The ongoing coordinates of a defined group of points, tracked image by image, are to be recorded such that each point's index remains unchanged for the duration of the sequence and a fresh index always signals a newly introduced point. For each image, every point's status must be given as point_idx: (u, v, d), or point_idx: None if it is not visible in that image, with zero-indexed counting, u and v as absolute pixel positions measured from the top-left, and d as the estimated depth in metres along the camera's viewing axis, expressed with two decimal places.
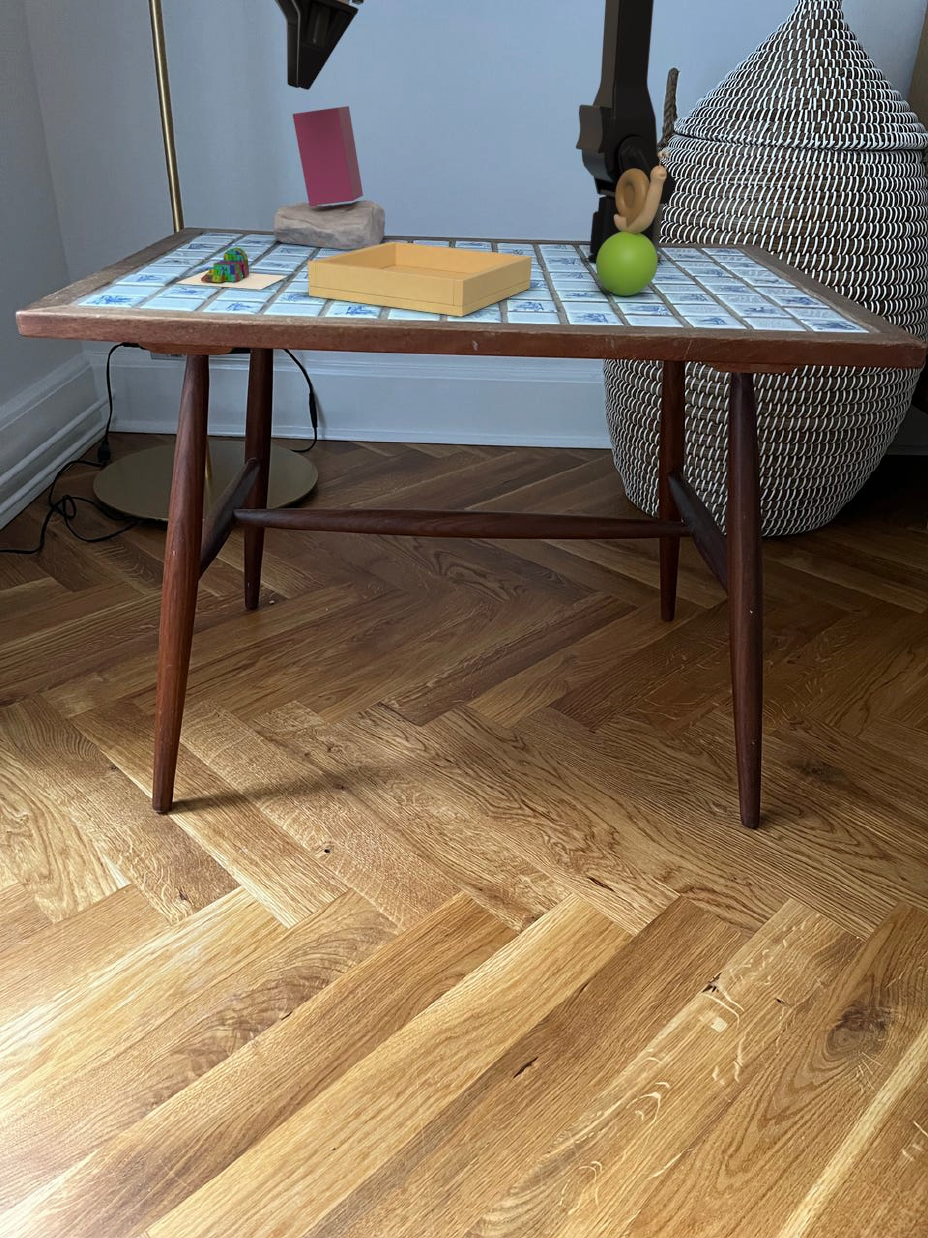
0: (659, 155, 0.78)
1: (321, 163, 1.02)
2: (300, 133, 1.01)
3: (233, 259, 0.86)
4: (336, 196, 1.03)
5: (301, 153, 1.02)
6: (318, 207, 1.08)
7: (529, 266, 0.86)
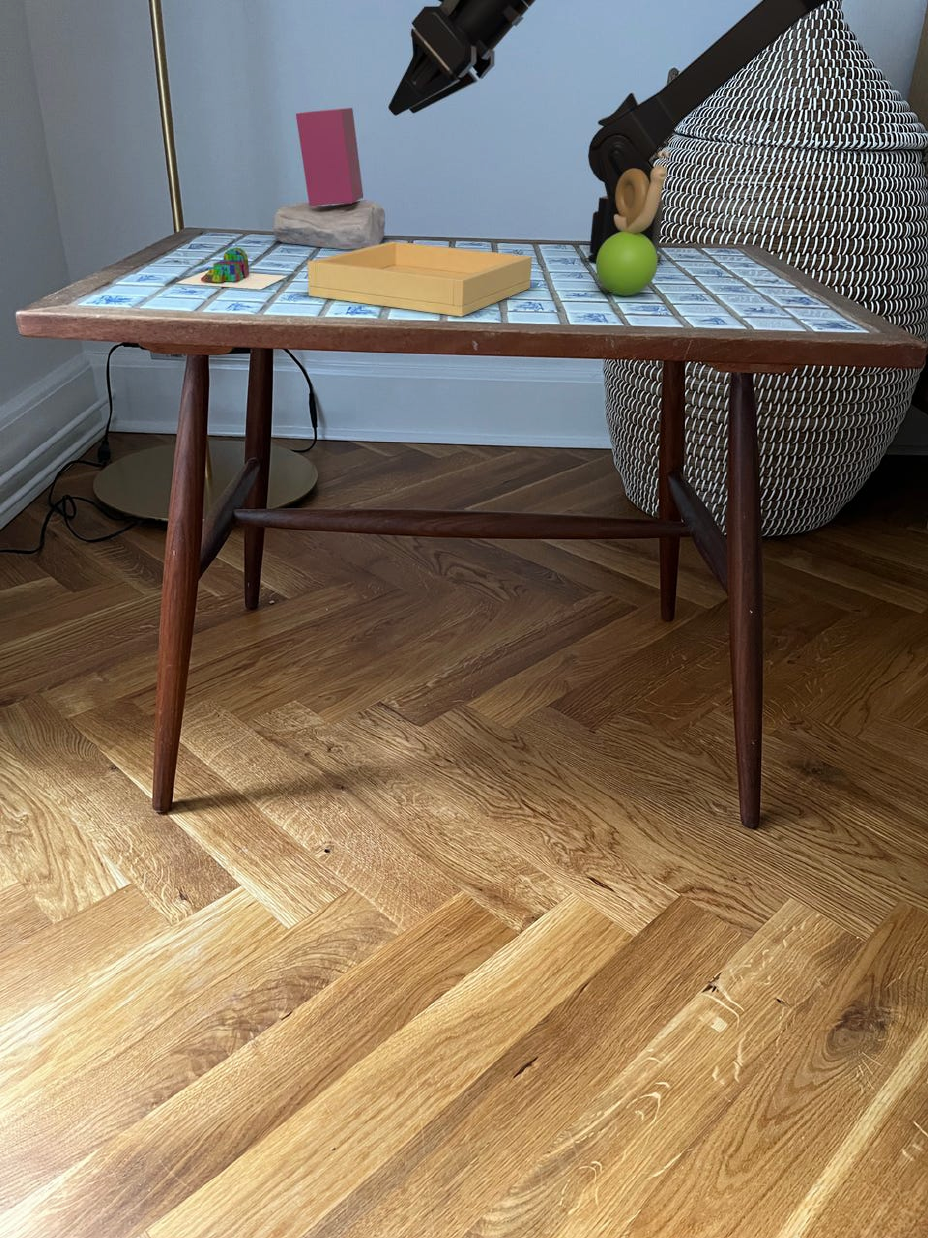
0: (659, 155, 0.78)
1: (323, 163, 1.02)
2: (302, 133, 1.01)
3: (233, 259, 0.86)
4: (336, 197, 1.03)
5: (303, 153, 1.02)
6: (318, 207, 1.08)
7: (529, 266, 0.86)
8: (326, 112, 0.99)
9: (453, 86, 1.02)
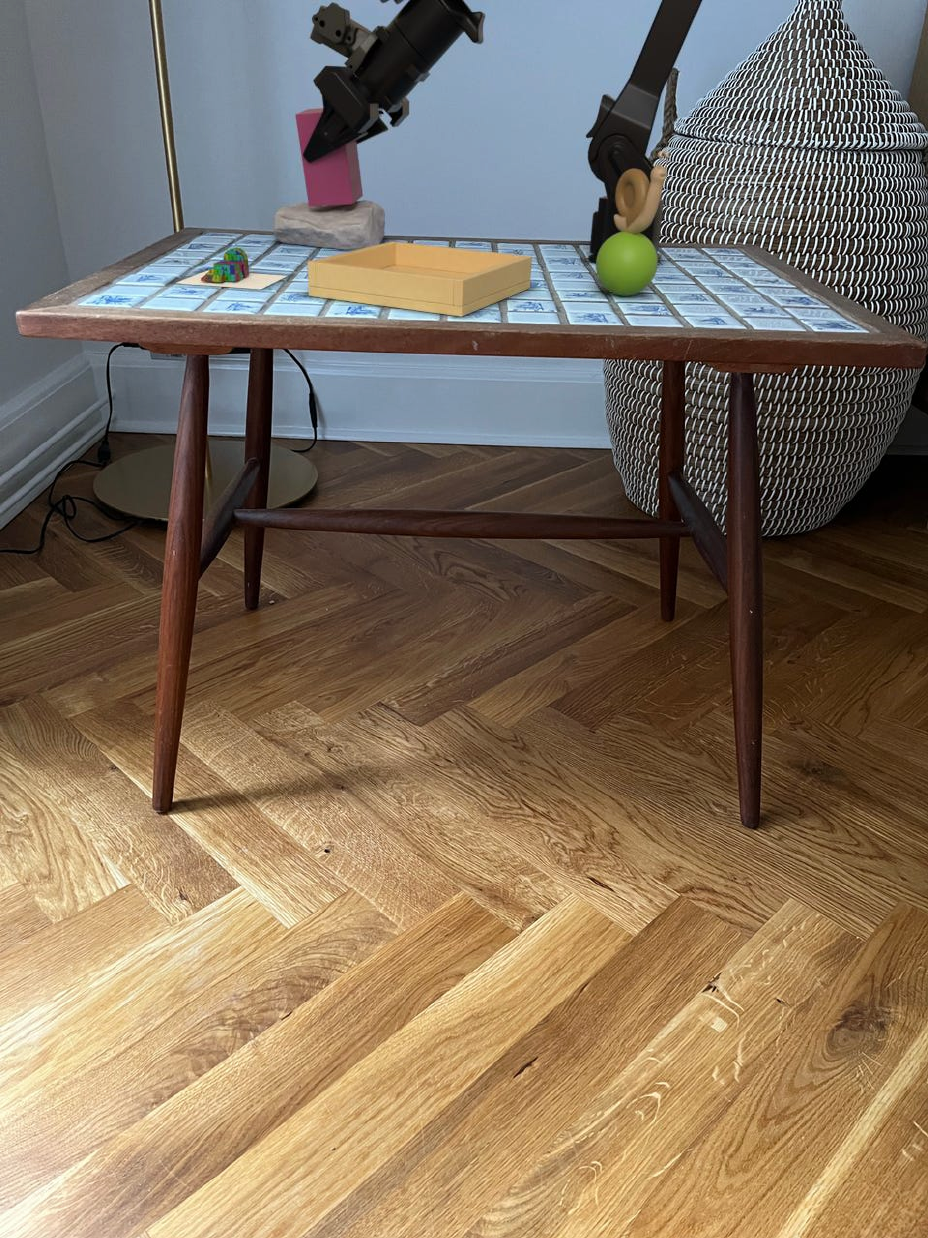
0: (659, 155, 0.78)
1: (322, 165, 1.01)
2: (302, 134, 1.00)
3: (233, 259, 0.86)
4: (336, 198, 1.03)
5: (302, 154, 1.01)
6: (318, 207, 1.08)
7: (529, 266, 0.86)
8: None
9: (362, 135, 1.04)
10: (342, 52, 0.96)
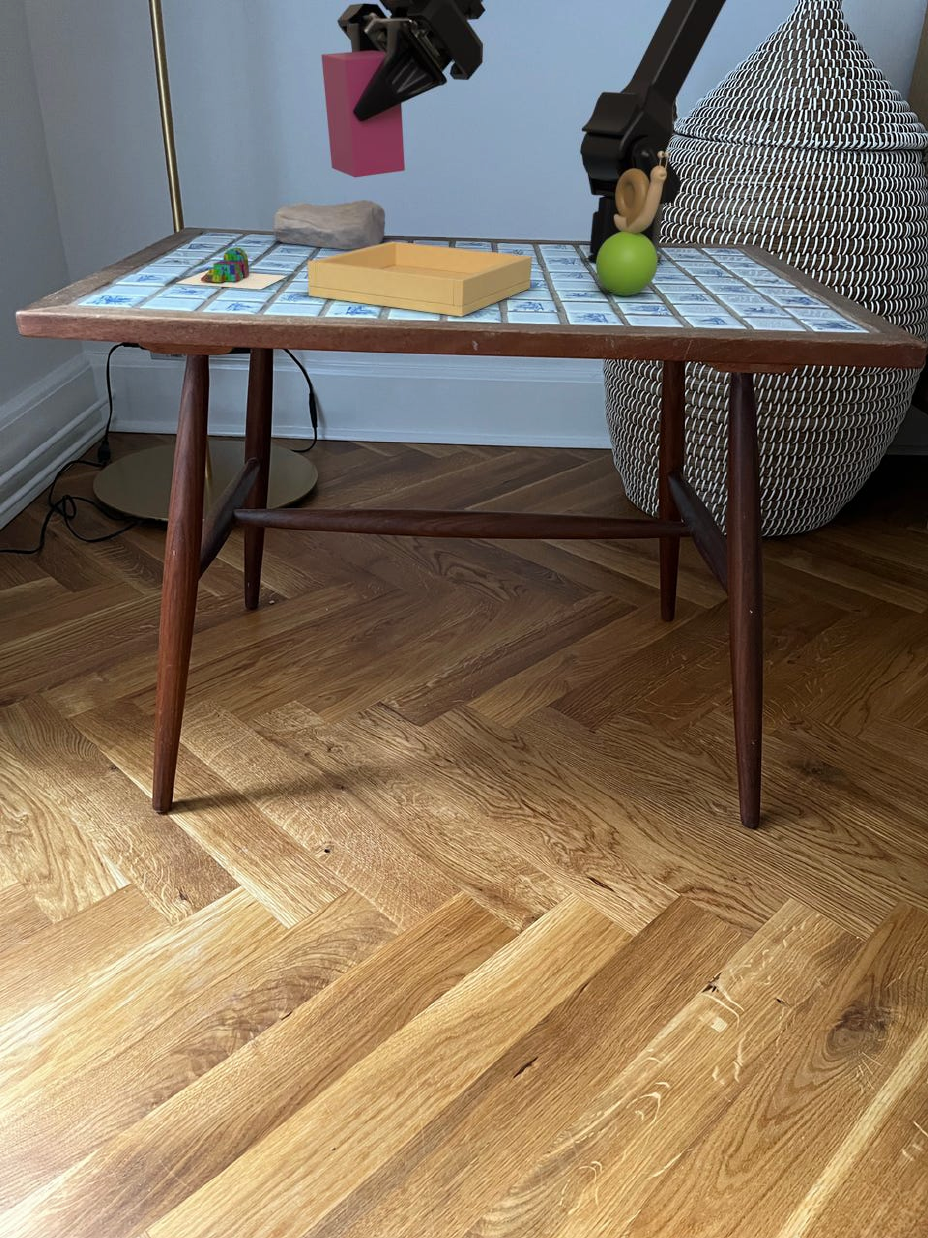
0: (659, 155, 0.78)
1: (373, 123, 0.82)
2: (352, 85, 0.79)
3: (233, 259, 0.86)
4: (386, 165, 0.84)
5: (351, 110, 0.81)
6: (318, 207, 1.08)
7: (529, 266, 0.86)
8: (381, 58, 0.80)
9: None
10: None
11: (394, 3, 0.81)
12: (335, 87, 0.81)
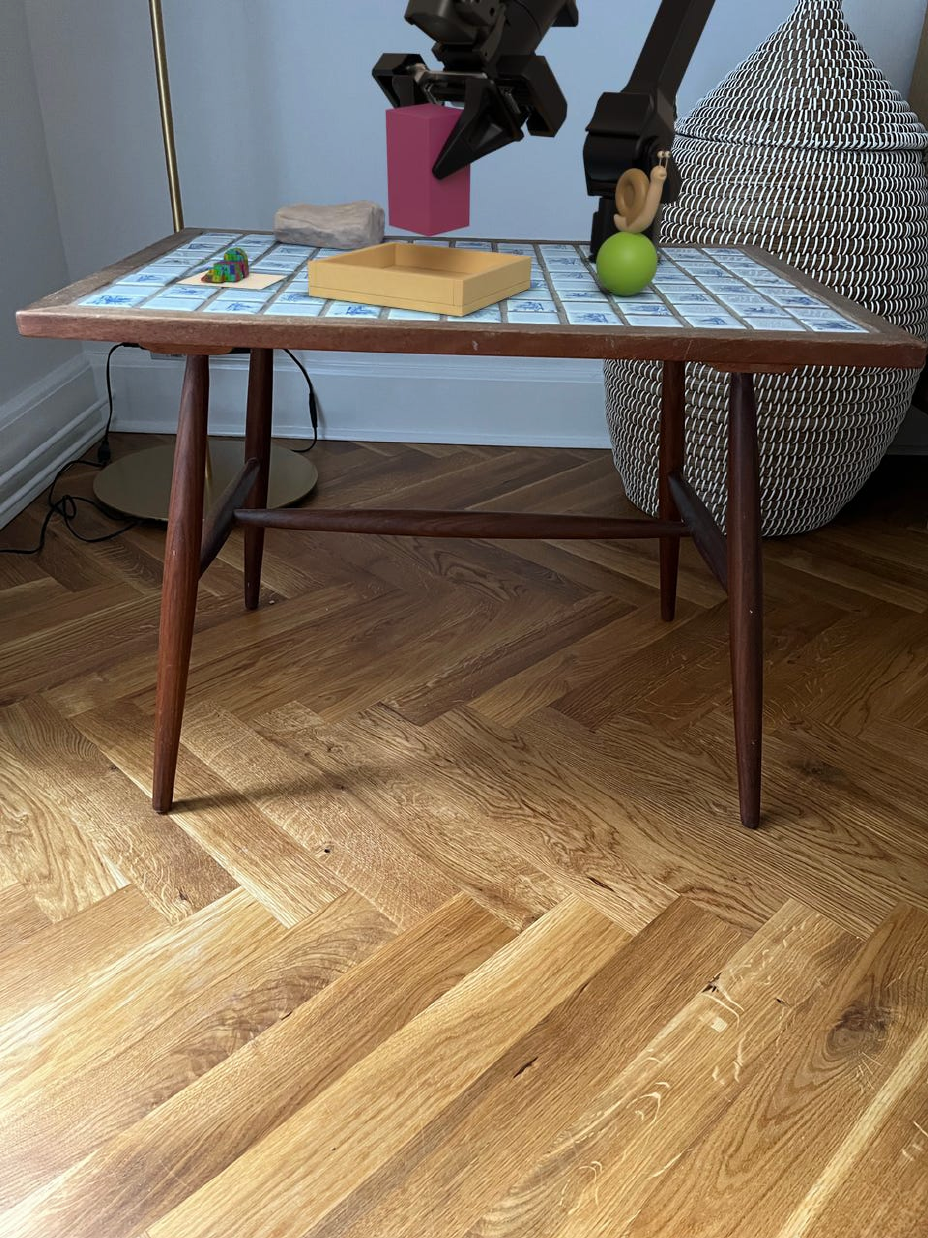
0: (659, 155, 0.78)
1: (447, 181, 0.79)
2: (432, 143, 0.76)
3: (233, 259, 0.86)
4: (455, 222, 0.81)
5: (430, 169, 0.77)
6: (318, 207, 1.08)
7: (529, 266, 0.86)
8: (457, 115, 0.77)
9: None
10: (473, 35, 0.75)
11: (455, 56, 0.78)
12: (406, 144, 0.77)
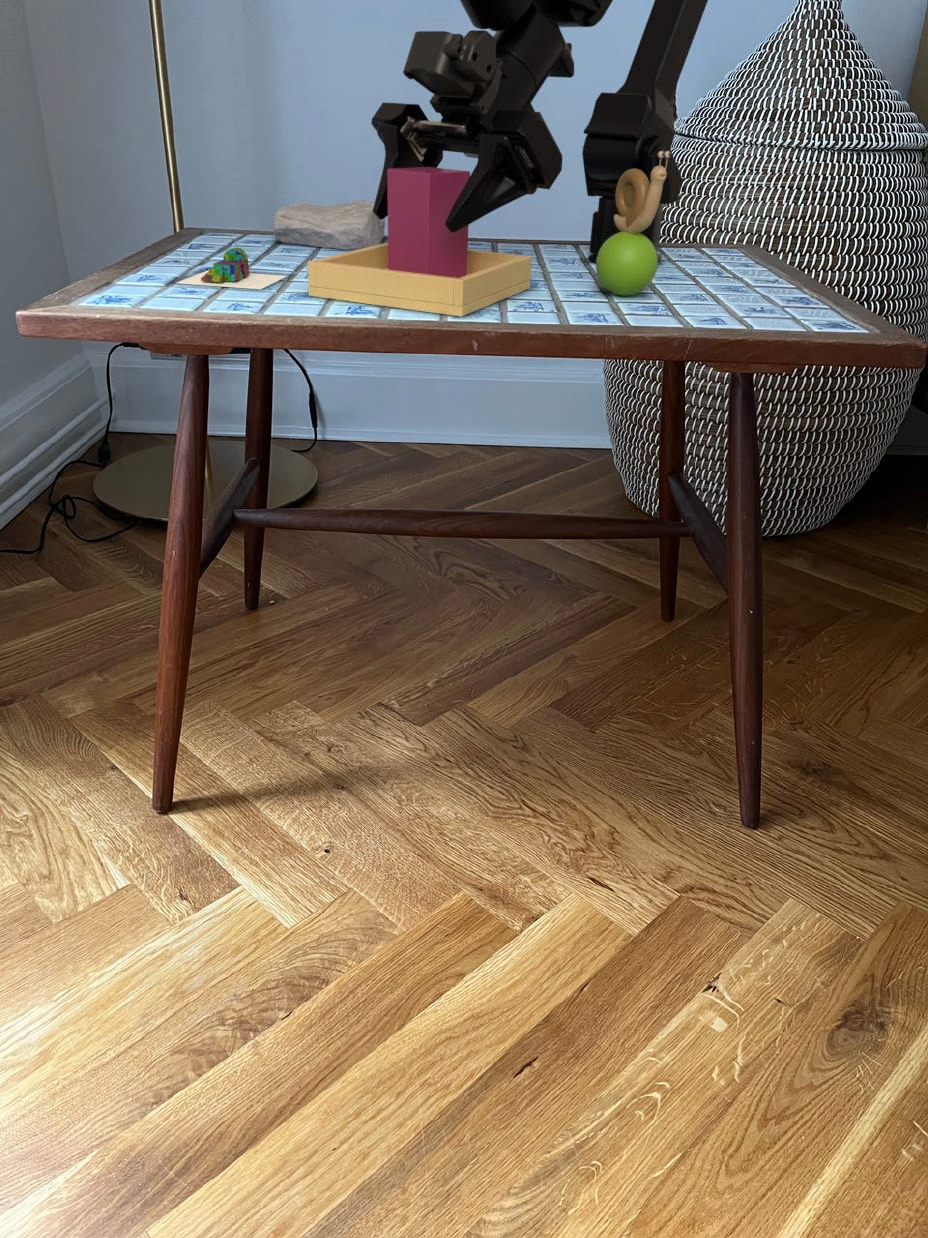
0: (659, 155, 0.78)
1: (446, 236, 0.81)
2: (432, 198, 0.79)
3: (233, 259, 0.86)
4: (453, 276, 0.84)
5: (430, 223, 0.79)
6: (318, 207, 1.08)
7: (529, 266, 0.86)
8: (457, 174, 0.80)
9: None
10: (470, 90, 0.77)
11: (453, 109, 0.80)
12: (407, 200, 0.80)
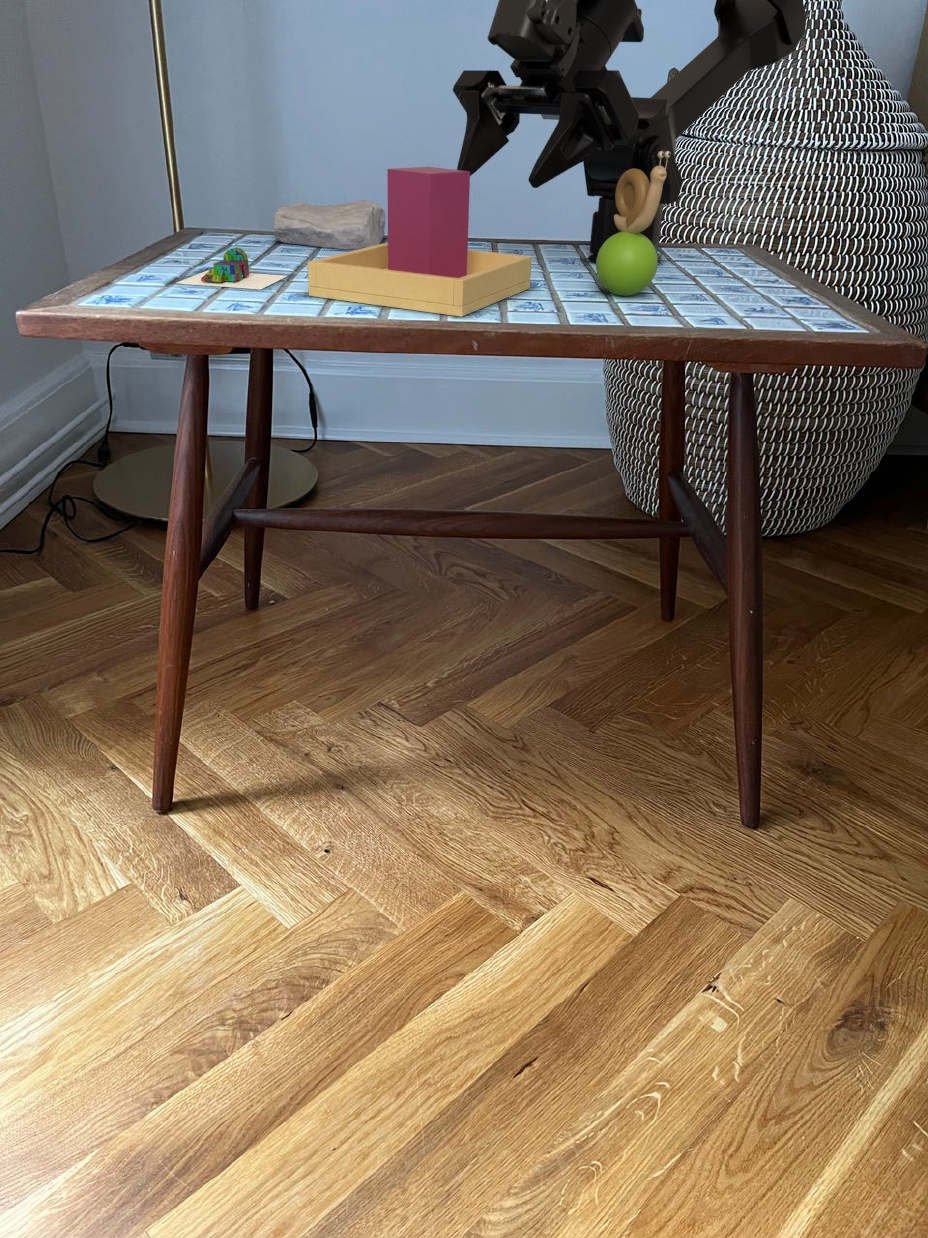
0: (659, 155, 0.78)
1: (446, 236, 0.81)
2: (432, 198, 0.79)
3: (233, 259, 0.86)
4: (453, 276, 0.84)
5: (430, 223, 0.79)
6: (318, 207, 1.08)
7: (529, 266, 0.86)
8: (457, 174, 0.80)
9: (494, 148, 0.91)
10: (551, 53, 0.82)
11: (533, 72, 0.85)
12: (407, 200, 0.80)
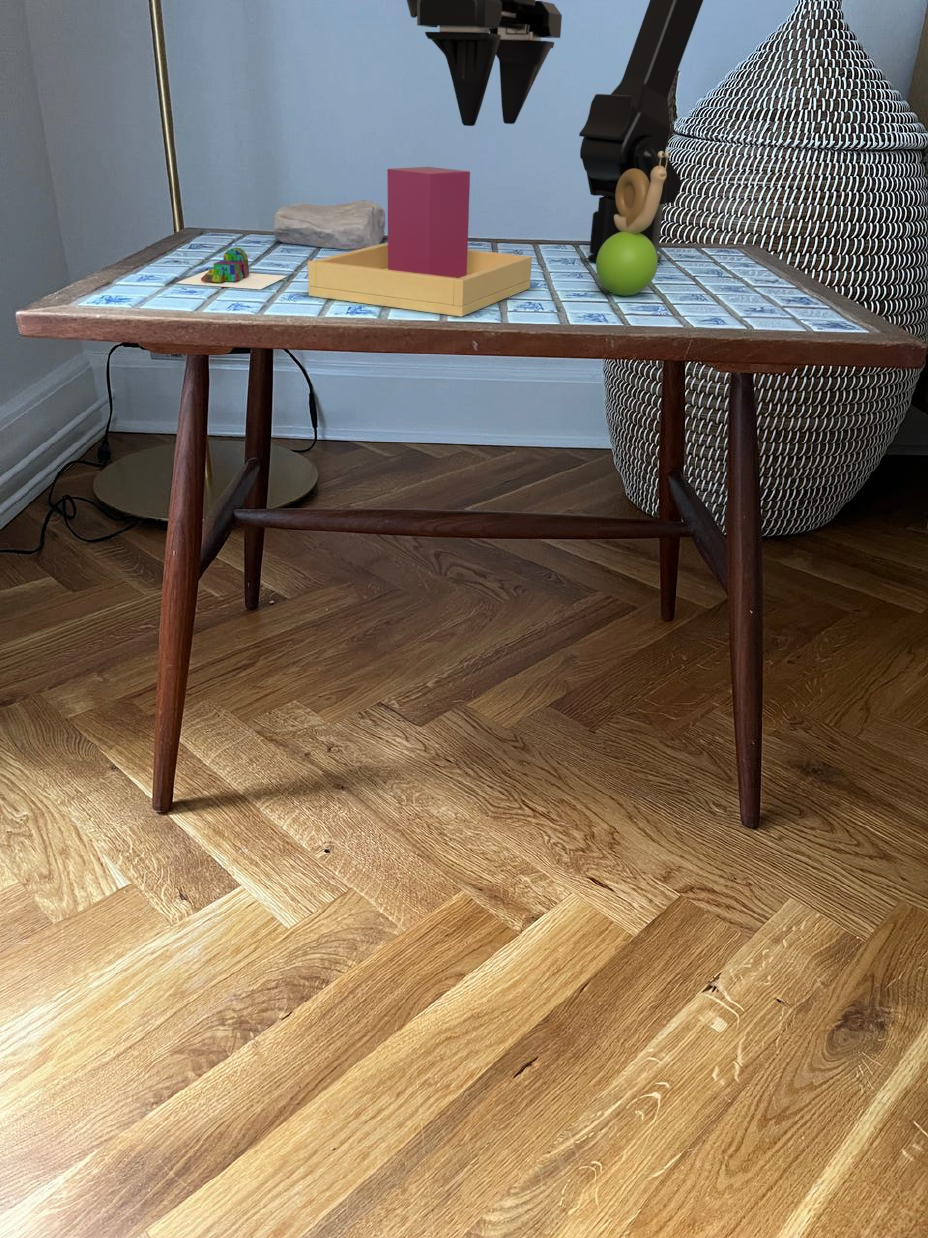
0: (659, 155, 0.78)
1: (446, 236, 0.81)
2: (432, 198, 0.79)
3: (233, 259, 0.86)
4: (453, 276, 0.84)
5: (430, 223, 0.79)
6: (318, 207, 1.08)
7: (529, 266, 0.86)
8: (457, 174, 0.80)
9: (530, 65, 0.89)
10: None
11: None
12: (407, 200, 0.80)
